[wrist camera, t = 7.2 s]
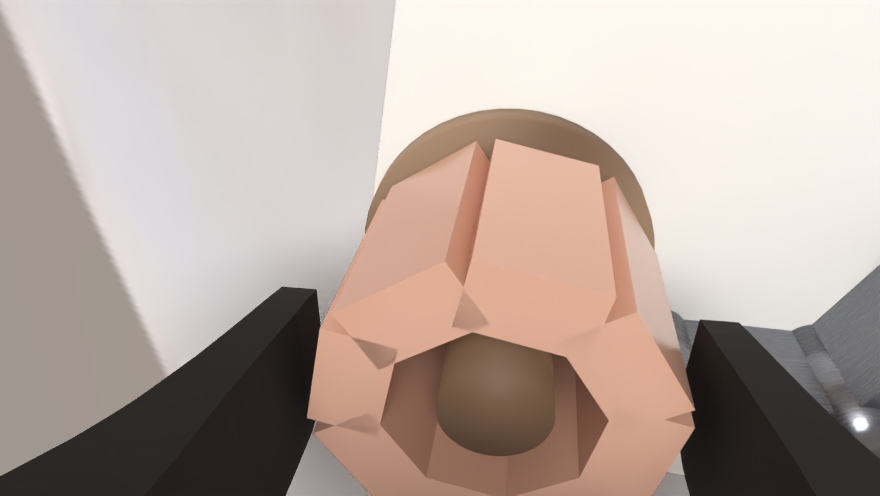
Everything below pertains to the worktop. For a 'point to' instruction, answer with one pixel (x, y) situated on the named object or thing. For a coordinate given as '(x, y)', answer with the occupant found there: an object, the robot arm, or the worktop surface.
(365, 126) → the worktop surface
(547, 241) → the ring
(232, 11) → the worktop surface
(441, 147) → the peg
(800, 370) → the grey mechanical part
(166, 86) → the worktop surface
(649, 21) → the board
